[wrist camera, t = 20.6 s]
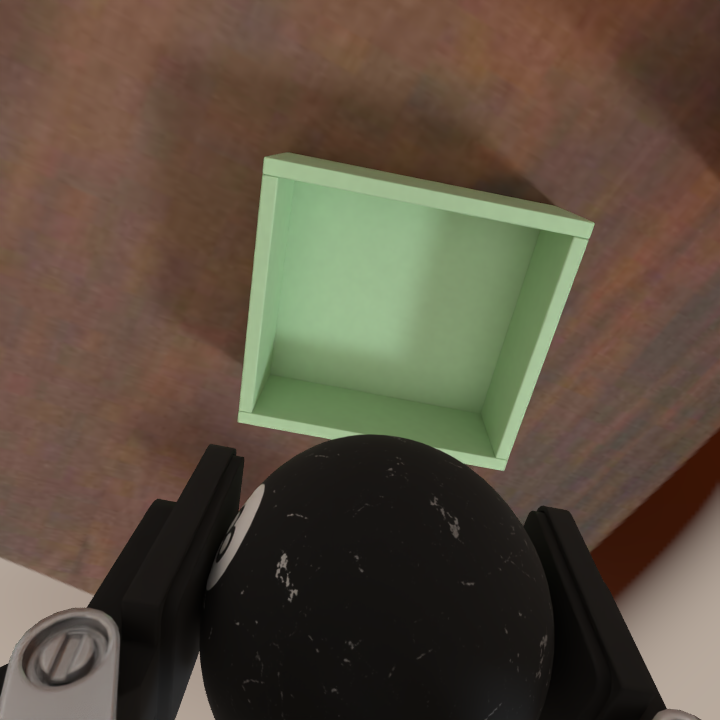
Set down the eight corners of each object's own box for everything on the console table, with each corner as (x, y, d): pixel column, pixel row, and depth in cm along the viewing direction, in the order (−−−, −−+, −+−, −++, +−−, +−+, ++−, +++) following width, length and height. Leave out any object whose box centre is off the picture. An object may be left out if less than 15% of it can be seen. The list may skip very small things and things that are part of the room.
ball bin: (286, 151, 22) (263, 156, 18) (557, 206, 23) (595, 223, 19) (260, 377, 27) (237, 422, 23) (486, 419, 27) (504, 471, 23)
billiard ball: (408, 621, 14) (423, 946, 8) (208, 521, 13) (74, 820, 7) (561, 470, 12) (719, 778, 6) (335, 332, 10) (279, 557, 5)
